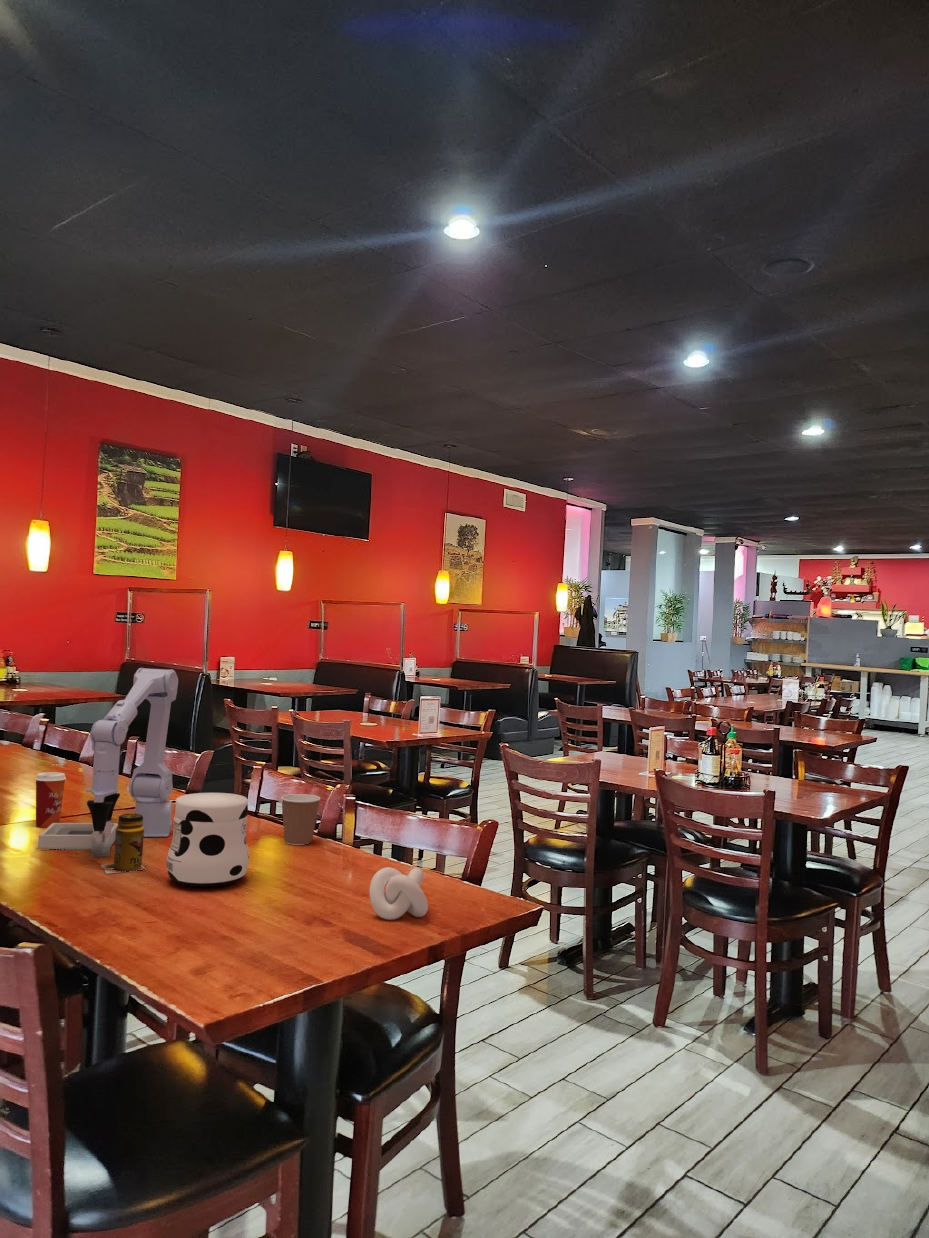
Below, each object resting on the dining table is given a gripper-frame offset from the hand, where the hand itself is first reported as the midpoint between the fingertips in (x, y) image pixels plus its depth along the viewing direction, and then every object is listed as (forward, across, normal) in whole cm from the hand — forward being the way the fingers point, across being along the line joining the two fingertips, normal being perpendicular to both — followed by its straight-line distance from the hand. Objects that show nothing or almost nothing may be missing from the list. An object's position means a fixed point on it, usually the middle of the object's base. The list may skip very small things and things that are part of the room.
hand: (102, 827), depth 204 cm
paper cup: (+7, -32, -19) cm, 38 cm away
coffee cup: (+7, -12, +47) cm, 49 cm away
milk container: (+7, +23, +26) cm, 35 cm away
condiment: (+7, +12, +7) cm, 15 cm away
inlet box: (+6, -12, -7) cm, 15 cm away
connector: (+7, 0, 0) cm, 7 cm away
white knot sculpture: (+7, +49, +64) cm, 81 cm away
